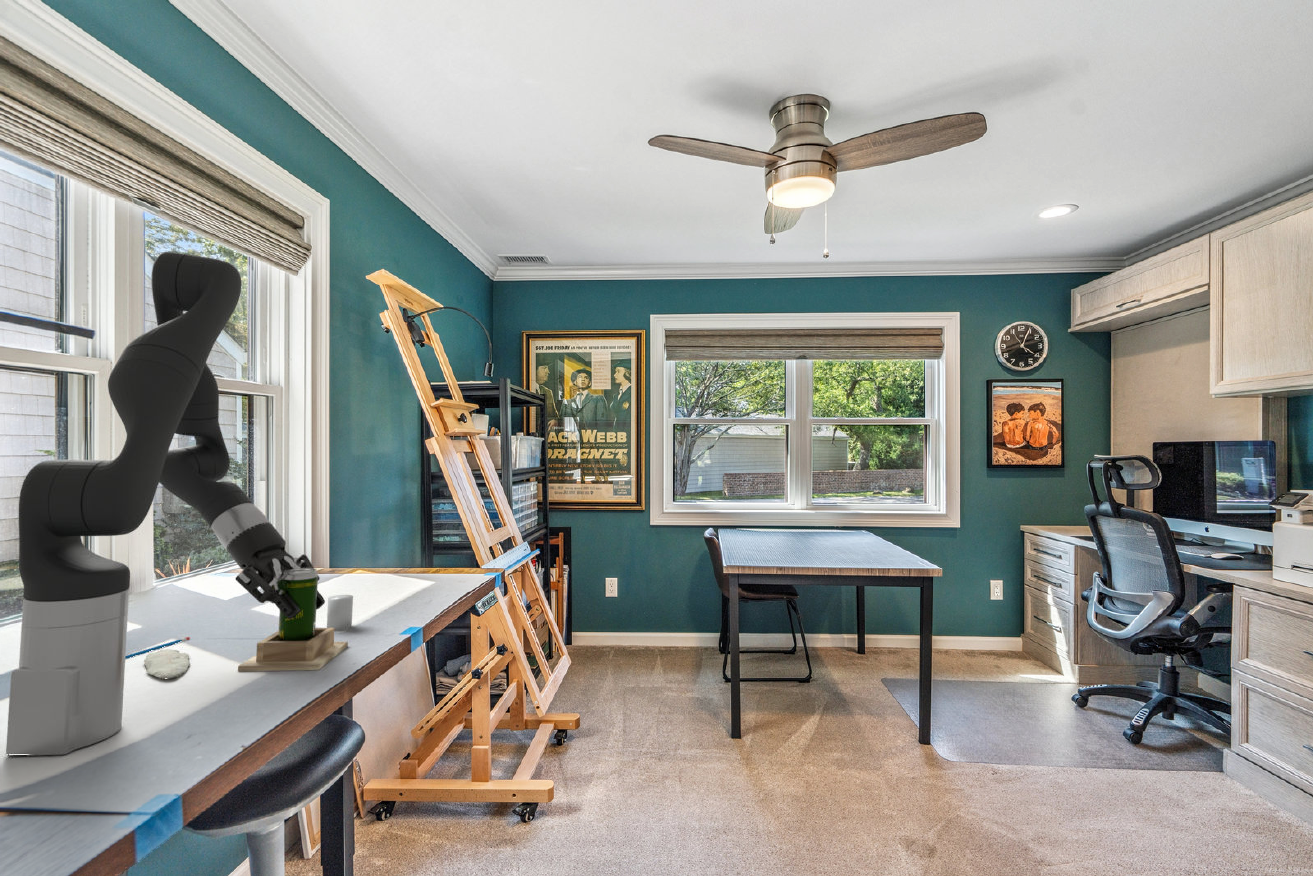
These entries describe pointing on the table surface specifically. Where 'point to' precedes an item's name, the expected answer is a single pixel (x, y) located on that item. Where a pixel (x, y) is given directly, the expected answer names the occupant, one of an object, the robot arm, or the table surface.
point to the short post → (340, 612)
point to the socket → (294, 653)
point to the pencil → (156, 647)
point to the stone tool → (166, 663)
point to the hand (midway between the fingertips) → (308, 610)
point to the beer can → (300, 605)
